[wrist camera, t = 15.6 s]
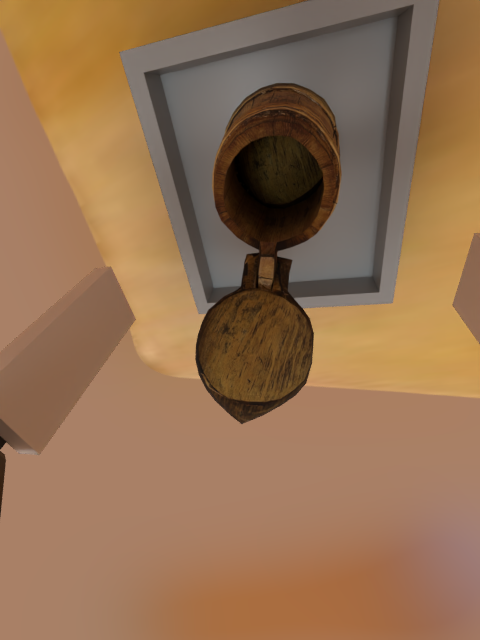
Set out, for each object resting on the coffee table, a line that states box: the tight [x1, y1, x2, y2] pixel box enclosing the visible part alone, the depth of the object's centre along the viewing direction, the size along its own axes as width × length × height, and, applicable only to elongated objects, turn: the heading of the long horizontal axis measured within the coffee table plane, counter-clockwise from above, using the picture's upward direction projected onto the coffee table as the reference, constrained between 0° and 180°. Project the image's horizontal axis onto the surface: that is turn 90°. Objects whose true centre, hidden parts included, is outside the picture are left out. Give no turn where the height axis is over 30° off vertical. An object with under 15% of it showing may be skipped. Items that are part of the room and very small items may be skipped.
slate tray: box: [119, 0, 439, 314], centre depth 24 cm, size 20×18×4 cm
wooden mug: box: [196, 83, 342, 424], centre depth 17 cm, size 9×14×18 cm, turn 177°
